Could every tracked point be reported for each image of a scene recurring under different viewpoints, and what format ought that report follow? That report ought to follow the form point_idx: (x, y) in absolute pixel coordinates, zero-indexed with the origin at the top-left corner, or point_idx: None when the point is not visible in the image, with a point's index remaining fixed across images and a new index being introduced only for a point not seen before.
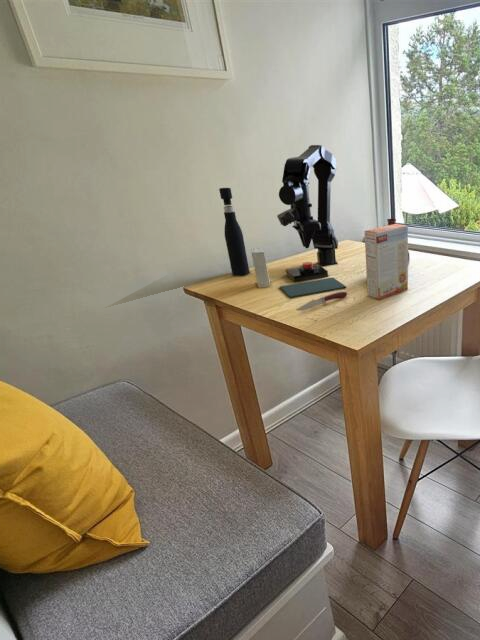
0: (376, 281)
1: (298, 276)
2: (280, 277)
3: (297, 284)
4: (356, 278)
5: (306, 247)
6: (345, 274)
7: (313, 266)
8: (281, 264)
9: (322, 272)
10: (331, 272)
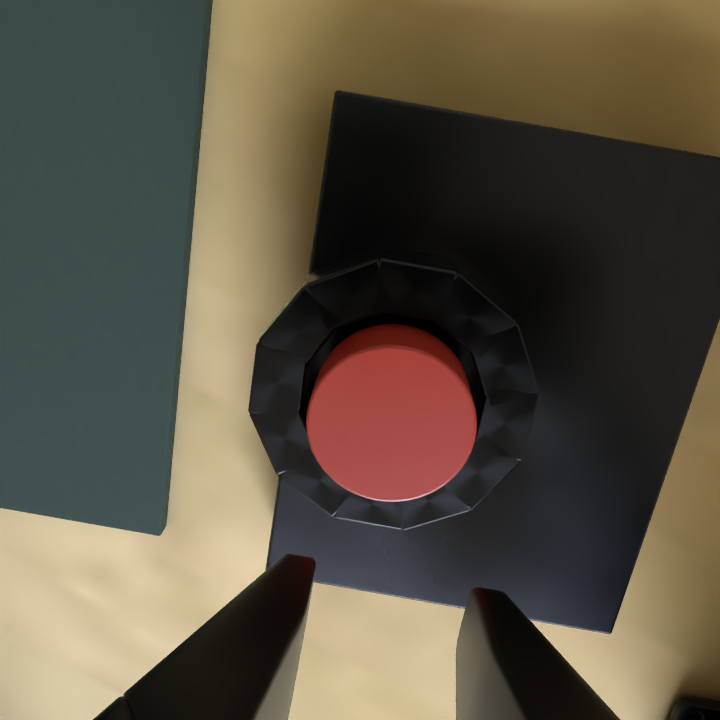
0: None
1: (324, 165)
2: (706, 38)
3: (154, 43)
4: (45, 696)
5: (278, 575)
6: None
7: None
8: None
9: (277, 506)
10: (401, 637)
